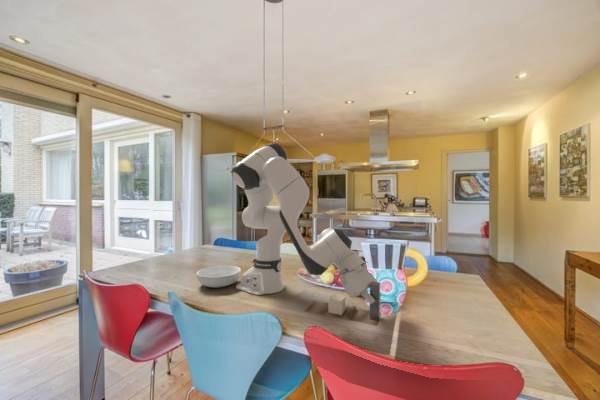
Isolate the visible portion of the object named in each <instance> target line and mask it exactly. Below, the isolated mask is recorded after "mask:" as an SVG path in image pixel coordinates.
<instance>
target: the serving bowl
mask: <svg viewBox="0 0 600 400" xmlns="http://www.w3.org/2000/svg"><path fill="white" fill-rule="evenodd" d="M241 273H242V269H241V268H240V267H239V266H235V265H217V266H210V267H205V268H202V269H200V270H198V271H197V272H196V277H197V278H196V279H197V281H198V282H199V283H200V284H201V285H202V286H204V287H208V288H215V289H216V288H219V289H220V288H224V287H227V286H230V285H232V284H234V283H236V282H237V281H238V280H239V278H240V276H241Z"/></svg>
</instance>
